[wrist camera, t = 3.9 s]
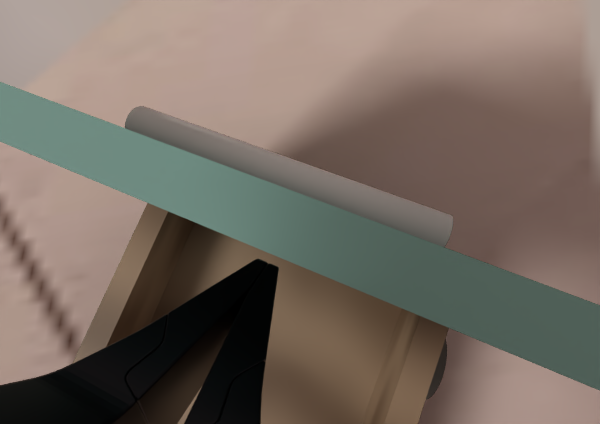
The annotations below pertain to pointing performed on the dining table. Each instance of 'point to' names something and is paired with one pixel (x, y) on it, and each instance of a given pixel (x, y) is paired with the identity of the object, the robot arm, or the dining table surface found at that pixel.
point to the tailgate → (313, 225)
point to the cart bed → (282, 327)
